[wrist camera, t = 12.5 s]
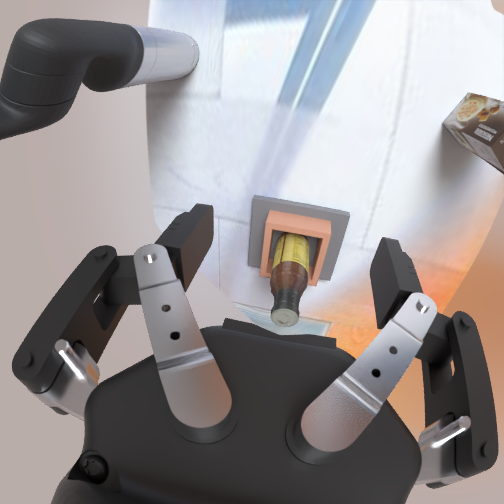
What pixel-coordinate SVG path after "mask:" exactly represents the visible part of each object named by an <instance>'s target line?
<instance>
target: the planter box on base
mask: <svg viewBox="0 0 504 504" xmlns="http://www.w3.org/2000/svg"><path fill="white" fill-rule="evenodd" d="M349 217H350V214H349V212H346V211H341V210H336V209H331V208H326V207H321V206H315V205H310V204H305V203H299V202H293V201H288V200H282V199H276V198H270V197H263V196H257V195H255V196H254V198H253V206H252V219H251V231H250V244H249V257H248V266H253V267H258V268H261V269H260V276H263V277H269V278H271V272H272V267H273V262H274V257H275V251H276V246H277V242H278V239H279V238H280V236H281V235H282V234H283V233H284V232H291V233H296V234H302V235H305V237H306V238H307V239H308V244H309V269H308V284H307V285H312V286H317V282H318V279H324V280H329V281H330V279H331V276H332V273H333V270H334V267H335V264H336V261H337V258H338V255H339V251H340V248H341V245H342V241H343V238H344V235H345V231H346V228H347V225H348V221H349Z"/></svg>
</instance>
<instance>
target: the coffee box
mask: <svg viewBox="0 0 504 504" xmlns="http://www.w3.org/2000/svg"><path fill="white" fill-rule="evenodd" d="M443 124H444V125H445V126H446V128H447V129H448V130H449V131H450V133H451V134H452V135H453V136H454V137H455V139H456V140H457V141H458V142H459V144H460V145H461V146H463V147H465V148H467V149H468V150H470V151H471V152H473V153H474V154H476V155H477V156H479V157H480V158H482V159H483V160H485V161H486V162H488V163H489V164H490V165H492V166H493V167H495V168H496V169H497V170H499V171H500V172H501V173H503V174H504V102H503V101H500V100H496V99H493V98H489V97H486V96H482V95H477V94H473V93H468V94H467V95H466V96H465V97H464V98H463V100H462V101H461V102H460V103H459V104H458V106H457V107H456V108H455V109H454V110H453V111H452V113H451V114H450V115H449V116H448V117H447V118H446V119H445V121H444V122H443Z"/></svg>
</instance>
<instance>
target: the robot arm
mask: <svg viewBox="0 0 504 504" xmlns="http://www.w3.org/2000/svg"><path fill="white" fill-rule="evenodd" d="M198 58H199V48H198V45H197V43H196V41H195V40H194V39H193V38H192V37H191V36H189V35H187V34H184V33H180V32H175V31H170V30H164V29H158V28H152V27H144V26H136V25H126V24H117V23H111V22H104V21H90V20H75V19H58V18H54V19H52V18H51V19H40V20H35V21H32V22H29V23H27V24H25V25H24V26H22V27H21V28H20V29H19V30H18V31H17V32H16V34H15V36H14V39H13V41H12V44H11V47H10V50H9V53H8V56H7V59H6V63H5V66H4V70H3V74H2V78H1V83H0V140H2V139H5V138H9V137H13V136H16V135H20V134H24V133H28V132H31V131H35V130H38V129H41V128H44V127H47V126H49V125H51V124H53V123H55V122H57V121H59V120H60V119H62V118H63V117H64V116H65V115H66V114H67V113H68V111H69V109H70V108H71V106H72V104H73V102H74V99H75V97H76V95H77V92H78V90H79V87H80V85H81V83H83V84H84V85H85V86H86V87H88V88H89V89H90V90H93V91H96V92H107V91H112V90H116V89H120V88H125V87H130V86H135V85H140V84H146V83H152V82H158V81H166V80H174V79H179V78H182V77H184V76H186V75H187V74H189V73H190V72H191V71H192V70H193V69H194V67H195V66H196V64H197V61H198ZM213 235H214V220H213V206H212V205H205V204H198V203H197V204H196V205H195V206H194V207H193V208H192V210H191V211H190V212H184V213H182V214H180V215H179V216H177V217H176V218H175V219H174V220H173V221H172V223H171V224H170V225H169V226H168V227H167V229H166V230H165V231H164V232H163V234H162V235H161V236H160V237H159V238H158V240H157V241H156V242H155V243H154V244H149V245H145V246H143V247H140V248H139V249H138V250H137V251H136V252H135V253H134V255H130V256H117V252H116V249H115V248H114V247H112V246H108V245H105V246H99V247H96V248H95V249H93V250H91V251H90V252H89V253H88V254H87V256H86V257H85V258H84V259H83V260H82V262H81V263H80V264H79V265H78V266H77V268H76V269H75V270H74V271H73V273H72V274H71V275H70V276H69V278H68V279H67V280H66V281H65V283H64V284H63V285H62V286H61V288H60V289H59V290H58V292H57V293H56V294H55V296H54V297H53V298H52V300H51V301H50V303H49V304H48V305H47V307H46V308H45V309H44V311H43V312H42V314H41V315H40V317H39V318H38V320H37V321H36V323H35V324H34V325H33V327H32V328H31V330H30V331H29V333H28V334H27V336H26V338H25V339H24V341H23V342H22V344H21V345H20V347H19V349H18V351H17V352H16V354H15V356H14V358H13V361H12V370H13V373H14V375H15V376H16V377H17V378H18V379H19V380H20V381H21V382H22V383H23V384H24V385H25V386H26V387H27V388H28V390H29V391H30V392H31V393H32V394H34V395H35V396H36V397H37V398H38V399H39V400H41V401H42V402H43V403H44V404H45V405H47V406H49V407H50V408H52V409H53V410H54V411H55V412H57V413H59V414H62V415H66V414H71V415H73V416H75V417H77V418H79V419H81V420H83V421H84V423H85V437H84V445H83V450H82V453H81V455H80V457H79V459H78V460H77V462H76V463H75V464H74V466H73V467H72V468H71V470H70V471H69V472H68V473H67V474H66V476H65V477H64V478H63V479H62V480H61V482H60V483H59V485H58V487H57V489H56V492H55V494H54V497H53V500H52V502H51V504H405V503H406V500H407V498H408V495H409V493H410V491H411V489H412V488H413V486H414V485H418V484H426V485H427V486H428V487H430V488H433V489H435V488H439V487H443V486H446V485H449V484H452V483H455V482H457V481H461V480H463V479H466V478H469V477H471V476H474V475H476V474H479V473H481V472H483V471H486V470H488V469H490V468H491V467H492V466H493V465H494V463H495V462H496V459H497V456H498V434H497V423H496V413H495V406H494V399H493V393H492V387H491V382H490V377H489V372H488V367H487V363H486V359H485V355H484V351H483V347H482V344H481V340H480V336H479V333H478V329H477V326H476V323H475V322H474V320H473V319H472V318H471V317H470V316H469V315H468V314H467V313H465V312H462V311H457V312H455V313H454V315H453V316H452V317H451V318H449V317H447V316H445V315H443V314H440V313H438V312H437V306H436V304H435V302H434V301H433V300H432V299H431V298H430V297H429V296H427V295H425V294H423V291H422V288H421V285H420V282H419V279H418V276H417V273H416V270H415V269H414V268H415V267H414V265H413V262H412V260H411V258H410V257H409V256H408V255H407V254H406V252H402V249H401V247H400V244H399V241H398V240H395V239H390V238H386V237H383V238H382V239H381V241H380V243H379V246H378V248H377V251H376V254H375V256H374V259H373V261H372V264H371V268H370V279H371V285H372V291H373V298H374V305H375V312H376V320H377V328H378V329H382V331H381V332H380V333H379V334H378V335H377V337H376V338H375V339H374V340H373V341H372V343H371V344H370V345H369V346H368V347H367V348H366V349H365V351H364V352H363V353H362V354H361V355H360V356H359V357H358V358H357V359H355V358H354V357H353V356H351V355H350V354H349V353H347V352H346V351H344V350H342V349H340V348H338V347H336V338H330V337H324V336H317V335H311V334H304V335H278V334H276V333H273V332H271V331H268V330H266V329H264V328H261V327H259V326H257V325H254V324H252V323H247V322H242V321H238V320H233V319H228V318H225V320H224V323H223V326H211V327H206V328H202V329H199V327H198V325H197V322H196V320H195V317H194V315H193V312H192V310H191V308H190V305H189V302H188V300H187V297H186V295H185V292H186V291H187V289H188V287H189V285H190V283H191V281H192V279H193V278H194V276H195V274H196V272H197V270H198V268H199V267H200V265H201V263H202V261H203V259H204V258H205V256H206V254H207V252H208V250H209V248H210V247H211V244H212V241H213ZM98 294H100V295H99V297H98V298H97V300H96V301H95V303H94V300H95V299H96V297H97V296H98ZM93 303H94V304H93ZM136 304H137V305H142V308H143V313H144V317H145V321H146V325H147V329H148V333H149V337H150V341H151V344H152V348H153V352H154V354H153V355H151V356H149V357H147V358H145V359H144V360H142V361H140V362H138V363H136V364H134V365H133V366H131V367H129V368H127V369H125V370H123V371H122V372H120V373H118V374H116V375H114V376H112V377H110V378H108V379H106V380H104V381H103V382H101V383H100V384H99V385H98V380H99V376H100V372H99V368H98V366H97V363H98V361H99V359H100V357H101V355H102V353H103V351H104V349H105V347H106V345H107V343H108V341H109V339H110V338H111V336H112V334H113V332H114V330H115V329H116V327H117V325H118V323H119V321H120V319H121V317H122V316H123V314H124V312H125V311H126V309H127V307H128V305H136ZM414 357H416V358H418V359H421V361H422V371H423V383H424V399H425V429H424V430H423V431H422V432H421V434H420V436H419V441H418V442H417V441H416V439H415V438H414V436H413V435H412V434H411V432H410V431H409V429H408V428H407V427H406V425H405V424H404V422H403V421H402V420H401V418H400V417H399V416H398V414H397V413H396V411H395V410H394V409H393V407H392V406H391V405H390V403H389V402H388V401H387V398H388V396H389V395H390V393H391V392H392V391H393V389H394V388H395V386H396V385H397V383H398V382H399V381H400V379H401V378H402V376H403V375H404V373H405V371H406V370H407V368H408V367H409V365H410V364H411V362H412V360H413V359H414ZM452 360H453V362H454V368H455V372H454V375H453V376H452V369H451V363H450V362H451V361H452Z"/></svg>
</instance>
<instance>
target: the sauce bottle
mask: <svg viewBox="0 0 504 504" xmlns="http://www.w3.org/2000/svg"><path fill="white" fill-rule="evenodd" d="M308 269H309V244H308V239H307V238H306V237H305V235H302V234H296V233H291V232H284V233H283V234H282V235H281V236H280V238H279V239H278V242H277V246H276V251H275V257H274V262H273V267H272V272H271V281H270V284H271V293H272V294H273V296H274V300H275V301H274V306H273V308H272V310H271V320H272V321H273V322H274V323H275V324H276V325H279V326H283V327H290V326H293V325H295V324H296V323H297V322H298V319H299V310H298V308H299V302H300V298H301V296H302V294H303V292H304V290H305V289H306V287H307V284H308Z"/></svg>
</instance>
